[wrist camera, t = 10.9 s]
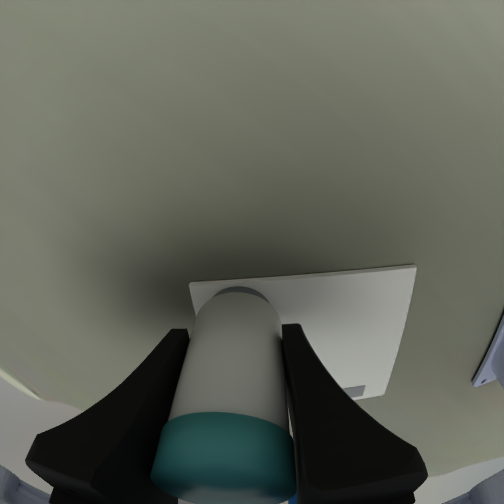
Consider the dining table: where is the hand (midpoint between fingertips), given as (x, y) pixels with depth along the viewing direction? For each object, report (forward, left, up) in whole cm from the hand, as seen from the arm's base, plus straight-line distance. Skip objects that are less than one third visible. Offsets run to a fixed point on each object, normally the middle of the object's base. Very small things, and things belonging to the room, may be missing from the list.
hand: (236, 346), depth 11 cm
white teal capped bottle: (0, 0, -2) cm, 2 cm away
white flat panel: (-3, +3, -2) cm, 5 cm away
